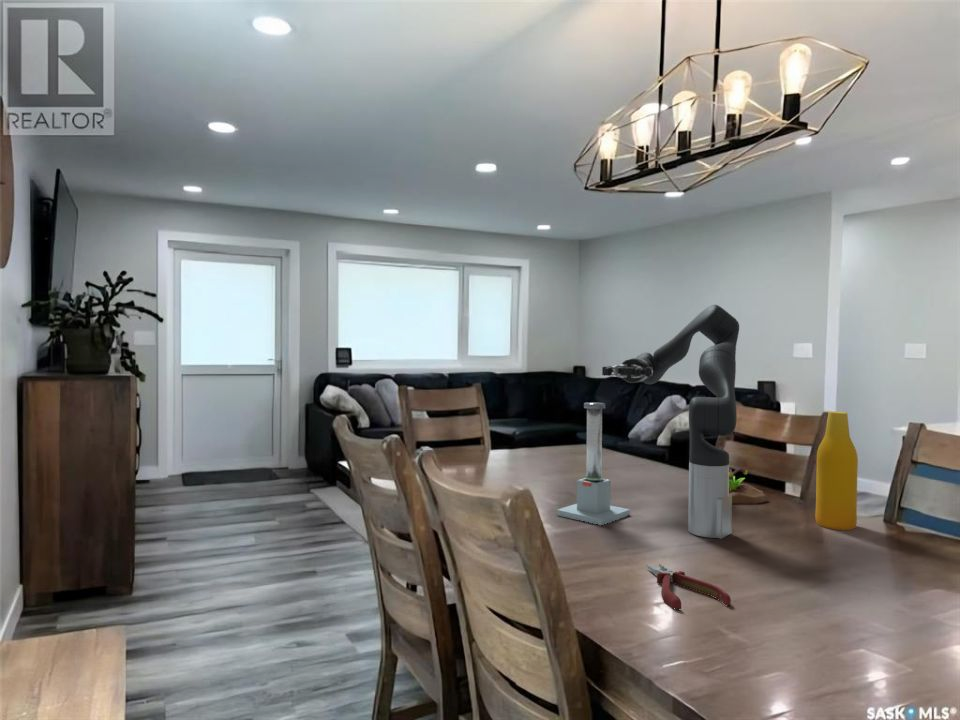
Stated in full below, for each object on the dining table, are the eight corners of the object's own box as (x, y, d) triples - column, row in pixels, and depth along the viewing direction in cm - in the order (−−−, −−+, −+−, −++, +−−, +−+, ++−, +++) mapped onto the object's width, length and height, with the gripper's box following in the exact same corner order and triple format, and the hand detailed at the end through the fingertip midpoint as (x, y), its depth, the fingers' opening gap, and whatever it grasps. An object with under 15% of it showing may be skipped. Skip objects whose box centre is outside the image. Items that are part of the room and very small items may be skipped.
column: (608, 481, 170) (609, 403, 169) (597, 485, 166) (597, 404, 165) (590, 478, 174) (591, 402, 173) (579, 482, 170) (579, 403, 169)
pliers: (678, 568, 131) (678, 556, 131) (734, 609, 111) (734, 594, 111) (626, 572, 129) (626, 559, 129) (673, 614, 109) (674, 599, 109)
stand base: (629, 514, 170) (630, 479, 170) (601, 525, 160) (602, 488, 160) (586, 505, 180) (586, 472, 180) (556, 515, 170) (557, 480, 169)
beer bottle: (815, 527, 159) (817, 413, 159) (815, 518, 168) (817, 409, 167) (857, 532, 155) (860, 415, 154) (855, 523, 163) (857, 411, 163)
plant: (746, 489, 202) (747, 454, 202) (775, 505, 183) (776, 466, 183) (684, 489, 202) (684, 454, 202) (706, 505, 183) (707, 466, 183)
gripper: (613, 357, 199) (597, 358, 185) (658, 358, 193) (646, 359, 178) (612, 381, 200) (597, 384, 185) (658, 383, 193) (645, 386, 179)
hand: (621, 372), depth 182 cm, fingers open, 8 cm apart
